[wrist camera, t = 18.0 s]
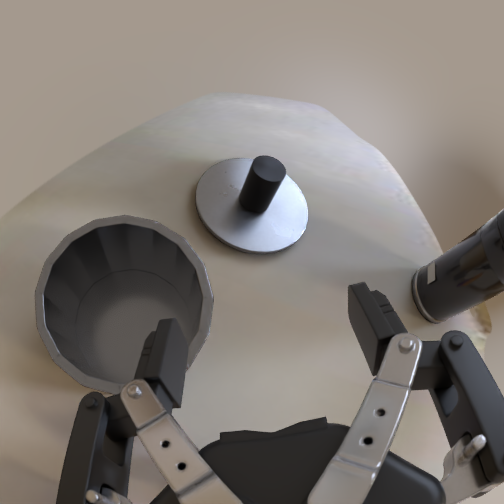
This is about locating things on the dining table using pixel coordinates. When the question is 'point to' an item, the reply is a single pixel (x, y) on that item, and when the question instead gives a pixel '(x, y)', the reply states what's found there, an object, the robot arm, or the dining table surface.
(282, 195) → the lid
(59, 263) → the pot
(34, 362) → the dining table surface
